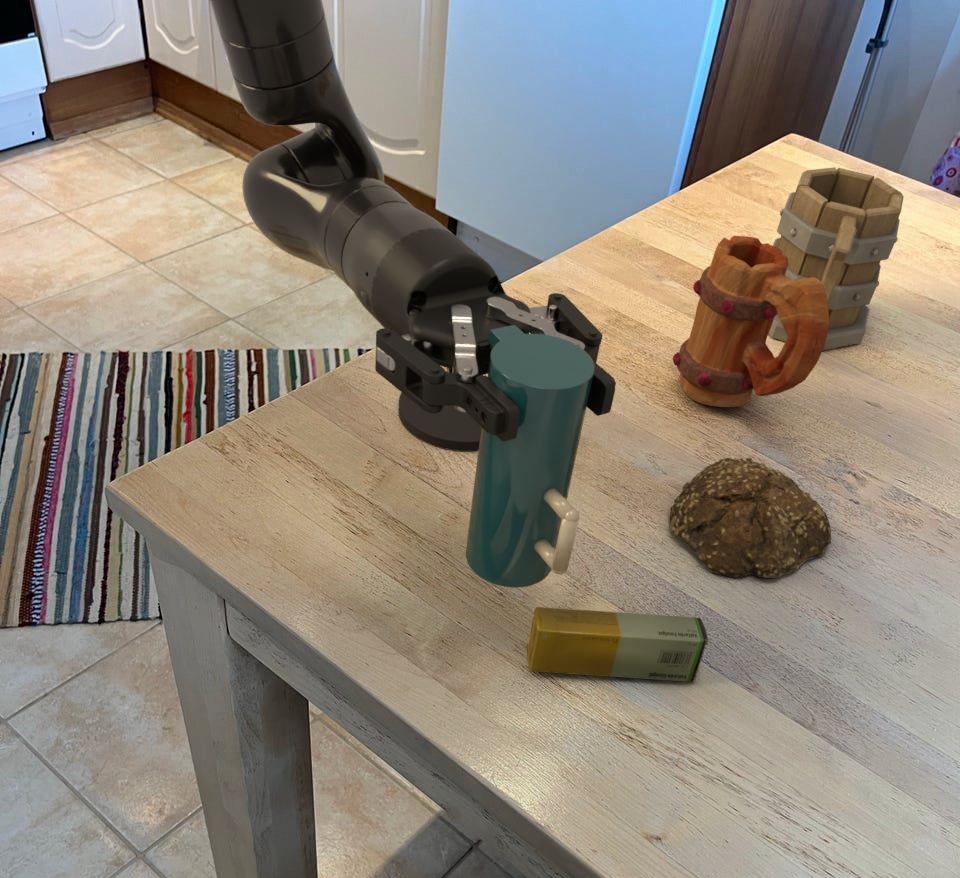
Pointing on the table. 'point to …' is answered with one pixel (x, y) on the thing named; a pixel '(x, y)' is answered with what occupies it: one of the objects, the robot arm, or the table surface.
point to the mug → (750, 326)
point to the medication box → (616, 644)
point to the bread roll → (749, 520)
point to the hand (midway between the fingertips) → (561, 413)
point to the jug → (529, 461)
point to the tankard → (839, 244)
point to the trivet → (440, 426)
